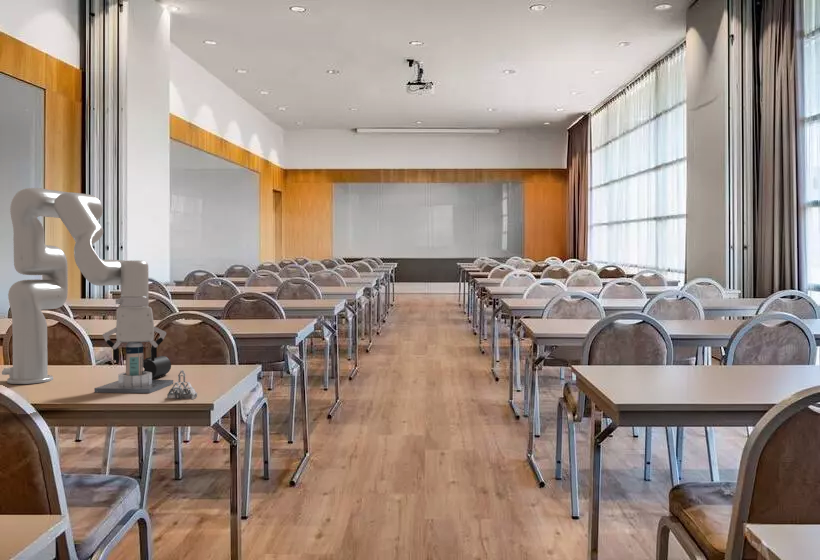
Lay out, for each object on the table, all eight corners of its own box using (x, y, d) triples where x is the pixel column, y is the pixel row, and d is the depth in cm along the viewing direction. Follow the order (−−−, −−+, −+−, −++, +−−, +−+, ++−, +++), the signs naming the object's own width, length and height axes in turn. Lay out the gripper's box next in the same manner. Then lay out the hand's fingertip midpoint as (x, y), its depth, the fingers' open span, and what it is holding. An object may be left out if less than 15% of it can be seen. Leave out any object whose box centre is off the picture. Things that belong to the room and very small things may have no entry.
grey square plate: (94, 392, 197) (94, 377, 197) (122, 383, 213) (122, 369, 213) (149, 393, 196) (149, 378, 195) (173, 383, 212) (173, 370, 211)
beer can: (138, 382, 207) (138, 341, 207) (146, 383, 204) (146, 342, 204) (122, 384, 204) (122, 342, 204) (130, 385, 201) (130, 343, 201)
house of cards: (152, 402, 183) (151, 373, 183) (166, 396, 192) (166, 368, 192) (185, 403, 183) (185, 373, 182) (198, 397, 191) (198, 369, 191)
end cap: (156, 381, 217) (156, 359, 217) (134, 381, 218) (134, 359, 218) (171, 376, 227) (171, 355, 227) (150, 376, 228) (150, 355, 228)
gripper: (102, 304, 197) (103, 365, 197) (167, 302, 204) (167, 361, 204) (101, 303, 203) (102, 361, 204) (164, 301, 211) (164, 358, 211)
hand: (135, 361), depth 204 cm, fingers open, 9 cm apart
